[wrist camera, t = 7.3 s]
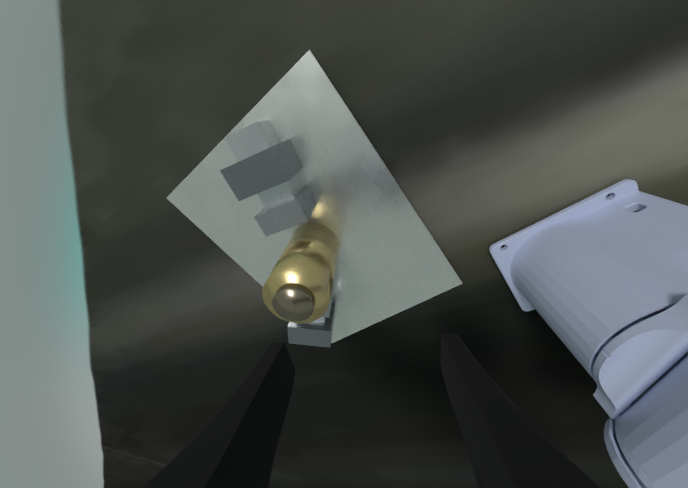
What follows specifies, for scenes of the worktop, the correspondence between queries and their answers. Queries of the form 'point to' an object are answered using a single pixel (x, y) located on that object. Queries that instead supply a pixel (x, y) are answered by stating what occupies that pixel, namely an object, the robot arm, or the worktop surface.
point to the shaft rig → (315, 205)
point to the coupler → (303, 275)
